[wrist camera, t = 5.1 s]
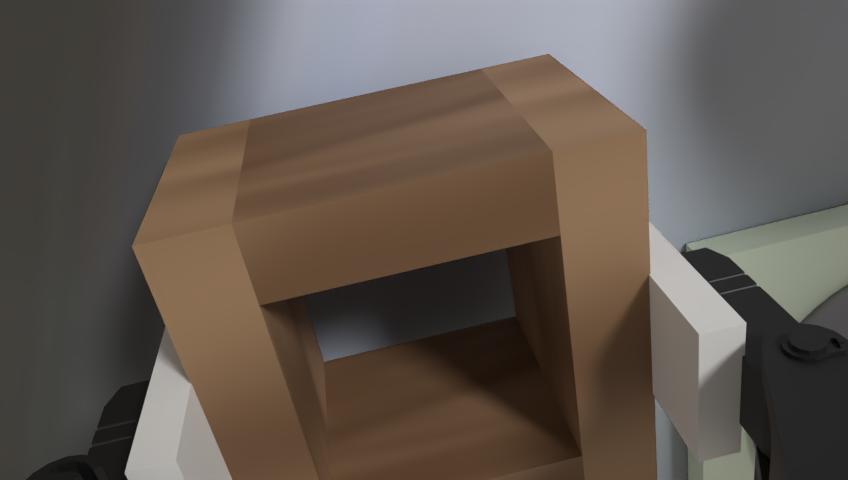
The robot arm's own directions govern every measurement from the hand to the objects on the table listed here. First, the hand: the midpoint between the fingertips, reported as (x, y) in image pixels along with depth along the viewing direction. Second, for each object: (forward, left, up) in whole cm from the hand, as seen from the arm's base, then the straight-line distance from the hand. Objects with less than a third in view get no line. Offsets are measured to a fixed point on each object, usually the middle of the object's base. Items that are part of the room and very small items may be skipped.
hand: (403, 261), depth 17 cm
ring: (0, 0, 0) cm, 0 cm away
